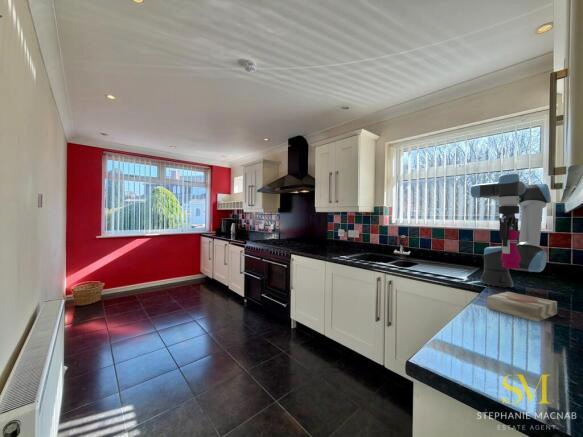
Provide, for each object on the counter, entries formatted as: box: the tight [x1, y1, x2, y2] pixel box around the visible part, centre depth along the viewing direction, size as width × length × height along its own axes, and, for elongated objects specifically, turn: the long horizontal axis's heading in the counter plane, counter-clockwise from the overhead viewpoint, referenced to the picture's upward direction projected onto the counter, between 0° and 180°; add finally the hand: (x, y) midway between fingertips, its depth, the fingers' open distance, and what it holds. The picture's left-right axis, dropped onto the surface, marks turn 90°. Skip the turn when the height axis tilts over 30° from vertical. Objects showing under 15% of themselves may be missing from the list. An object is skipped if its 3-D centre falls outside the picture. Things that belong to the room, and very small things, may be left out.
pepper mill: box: [501, 227, 521, 270], centre depth 117 cm, size 7×7×20 cm
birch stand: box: [486, 291, 558, 322], centre depth 101 cm, size 18×16×5 cm
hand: (509, 252), depth 118 cm, fingers closed on pepper mill, 6 cm apart
